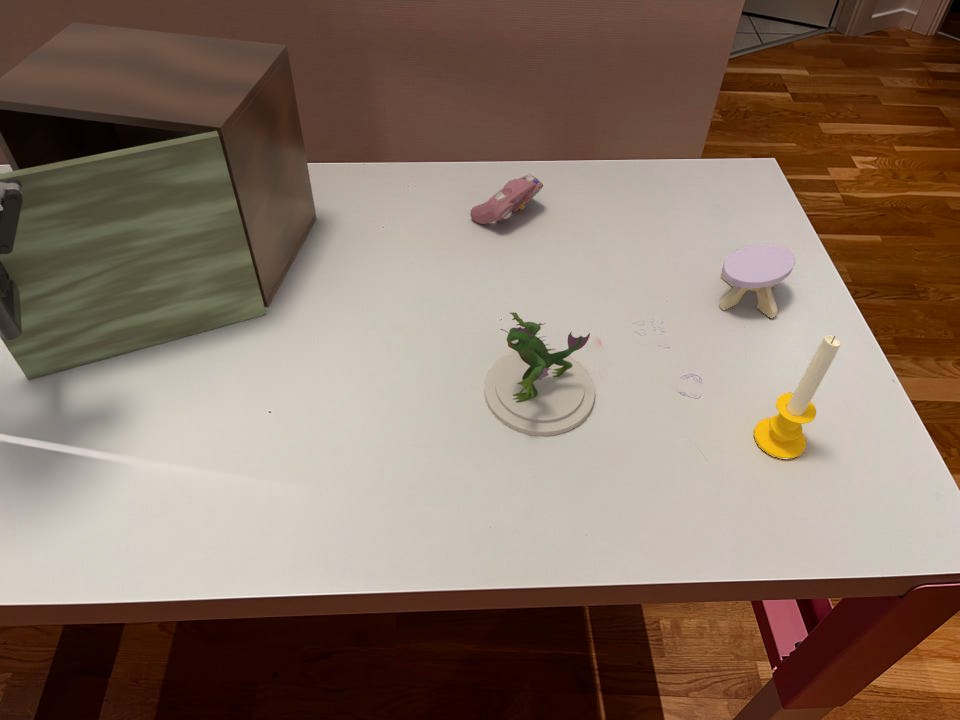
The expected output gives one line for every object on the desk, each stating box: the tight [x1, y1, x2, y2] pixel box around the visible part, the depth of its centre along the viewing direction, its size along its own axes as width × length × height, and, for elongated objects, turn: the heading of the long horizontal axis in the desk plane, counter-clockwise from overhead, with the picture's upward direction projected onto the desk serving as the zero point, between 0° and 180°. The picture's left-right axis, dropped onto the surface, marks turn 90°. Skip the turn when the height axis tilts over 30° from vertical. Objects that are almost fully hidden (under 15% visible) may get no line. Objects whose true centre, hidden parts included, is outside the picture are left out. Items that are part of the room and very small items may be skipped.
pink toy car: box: [469, 173, 544, 225], centre depth 100 cm, size 10×5×7 cm, turn 137°
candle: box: [753, 334, 841, 459], centre depth 72 cm, size 5×5×16 cm
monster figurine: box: [483, 311, 596, 437], centre depth 77 cm, size 12×12×10 cm
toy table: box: [718, 243, 796, 319], centre depth 90 cm, size 10×9×6 cm
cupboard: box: [0, 22, 318, 309], centre depth 87 cm, size 18×26×24 cm
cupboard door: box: [0, 131, 267, 381], centre depth 74 cm, size 8×26×24 cm, turn 114°
